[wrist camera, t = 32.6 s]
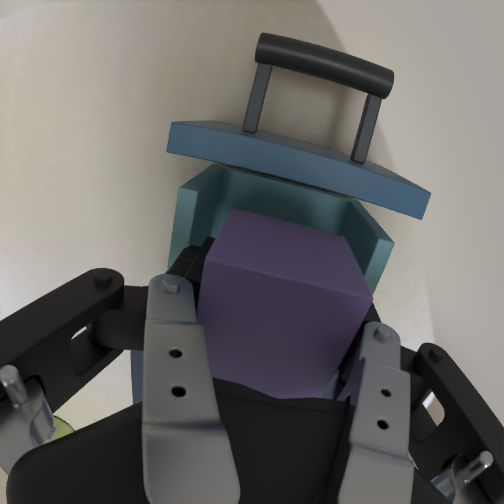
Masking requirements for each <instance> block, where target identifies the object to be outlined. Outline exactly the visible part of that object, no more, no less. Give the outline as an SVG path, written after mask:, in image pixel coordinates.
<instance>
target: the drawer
mask: <svg viewBox="0 0 504 504" xmlns="http://www.w3.org/2000/svg"><path fill="white" fill-rule="evenodd" d="M255 62H256V63H258V67H257V71H256V75H255V79H254V83H253V87H252V91H251V95H250V99H249V103H248V108H247V112H246V116H245V120H244V124H243V127H242V126H237V125H232V124H228V123H223V122H217V121H181V122H172V123H171V128H170V134H169V139H168V145H167V150H166V151H167V152H168V153H173V154H179V155H184V156H189V157H194V158H199V159H204V160H209V161H213V162H218V163H223V164H227V165H232V166H236V167H240V168H245V169H249V170H253V171H257V172H261V173H265V174H269V175H273V176H277V177H281V178H285V179H289V180H293V181H297V182H300V183H304V184H308V185H311V186H315V187H319V188H322V189H326V190H329V191H332V192H336V193H339V194H343V195H346V196H349V197H353V198H356V199H359V200H362V201H366V202H369V203H372V204H375V205H378V206H381V207H384V208H387V209H390V210H393V211H396V212H399V213H402V214H405V215H408V216H411V217H414V218H417V219H420V220H422V218H423V215H424V213H425V210H426V207H427V204H428V201H429V198H430V196H431V193H430V192H428V191H427V190H425V189H423V188H421V187H420V186H418V185H416V184H414V183H412V182H411V181H409V180H407V179H405V178H403V177H401V176H399V175H397V174H396V173H394V172H392V171H390V170H388V169H386V168H384V167H382V166H380V165H377V164H374V163H372V162H369V161H366V156H367V153H368V149H369V146H370V142H371V139H372V135H373V131H374V128H375V124H376V120H377V117H378V113H379V109H380V105H381V101H382V99H386V98H387V96H388V95H389V94H390V92H391V89H392V86H393V82H394V72H393V71H392V70H390V69H387V68H385V67H382V66H379V65H377V64H374V63H371V62H369V61H366V60H363V59H360V58H357V57H355V56H352V55H349V54H346V53H343V52H339V51H336V50H333V49H330V48H326V47H323V46H319V45H316V44H312V43H308V42H304V41H300V40H296V39H292V38H288V37H283V36H279V35H274V34H269V33H264V32H263V33H261V35H260V37H259V40H258V43H257V48H256V53H255ZM272 66H275V67H279V68H284V69H288V70H292V71H296V72H300V73H304V74H307V75H311V76H315V77H318V78H322V79H325V80H329V81H332V82H335V83H338V84H341V85H344V86H348V87H351V88H354V89H356V90H359V91H362V92H365V93H368V95H367V97H366V101H365V105H364V109H363V113H362V117H361V121H360V124H359V128H358V132H357V135H356V139H355V142H354V146H353V150H352V153H351V156H350V155H347V154H344V153H341V152H338V151H334V150H331V149H328V148H324V147H321V146H318V145H314V144H311V143H307V142H303V141H300V140H296V139H292V138H288V137H284V136H281V135H277V134H272V133H268V132H264V131H260V130H257V128H258V124H259V120H260V116H261V112H262V108H263V104H264V99H265V95H266V91H267V87H268V83H269V79H270V76H271V72H272ZM232 208H235V209H239V210H244V211H248V212H252V213H256V214H260V215H264V216H268V217H272V218H276V219H280V220H284V221H288V222H292V223H295V224H299V225H303V226H307V227H311V228H314V229H318V230H322V231H326V232H329V233H333V234H337V235H340V236H344V237H345V238H346V240H347V242H348V244H349V246H350V248H351V251H352V253H353V255H354V257H355V259H356V261H357V263H358V265H359V267H360V269H361V272H362V274H363V276H364V278H365V280H366V282H367V285H368V287H369V289H370V291H371V293H372V295H373V293H374V291H375V289H376V287H377V284H378V282H379V280H380V277H381V275H382V273H383V271H384V268H385V266H386V263H387V261H388V259H389V256H390V254H391V251H392V249H393V246H394V242H393V241H392V239H391V238H390V237H389V236H388V235H387V233H386V232H385V231H384V230H383V229H382V228H381V226H380V225H379V224H378V223H377V222H376V221H375V219H374V218H373V217H372V216H371V215H370V214H369V213H368V211H367V210H366V209H365V208H364V207H363V206H362V205H361V203H360V202H359V201H356V200H353V199H350V198H347V197H343V196H340V195H336V194H333V193H330V192H326V191H323V190H319V189H315V188H312V187H308V186H304V185H301V184H297V183H293V182H289V181H286V180H282V179H278V178H274V177H270V176H266V175H262V174H258V173H254V172H249V171H245V170H241V169H237V168H232V167H228V166H223V165H219V164H213V165H211V166H210V167H208V168H207V169H205V170H204V171H202V172H201V173H199V174H198V175H196V176H195V177H194V178H192V179H191V180H189V181H188V182H186V183H185V184H184V185H182V186H181V187H179V191H178V198H177V204H176V211H175V217H174V224H173V232H172V239H171V247H170V255H169V263H168V270H169V269H170V267H171V266H172V264H173V263H174V261H176V258H177V257H178V256H179V254H180V253H181V251H182V250H183V248H186V247H188V246H190V245H196V246H200V247H201V246H202V245H203V243H204V241H205V240H206V238H207V236H209V237H213V238H216V237H217V235H218V233H219V231H220V229H221V227H222V225H223V224H224V222H225V220H226V218H227V216H228V214H229V212H230V210H231V209H232Z"/></svg>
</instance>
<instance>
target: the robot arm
mask: <svg viewBox="0 0 504 504" xmlns="http://www.w3.org/2000/svg"><path fill="white" fill-rule="evenodd" d="M215 239H216V238H213V237H209V236H207V238H206V240H205V241H204V243H203V245H202V246H201V247H200V246H196V245H190V246H188V247H186V248H183V250H182V251H181V253H180V254H179V256H178V257H177V258H176V261H174V263H173V264H172V266H171V267H170V269H169V270H168V272H167V273H166V274H162V275H158V276H155V277H153V278H152V279H151V280H150V282H149V286H143V287H139V286H126V285H124V278H123V276H122V275H121V274H120V273H119V272H117V271H115V270H112V269H108V268H96V269H92V270H90V271H87V272H86V273H84V274H82V275H80V276H78V277H76V278H74V279H73V280H71V281H69V282H67V283H65V284H64V285H62V286H60V287H58V288H56V289H55V290H53V291H51V292H49V293H47V294H46V295H44V296H42V297H40V298H39V299H37V300H35V301H33V302H32V303H30V304H28V305H27V306H25V307H23V308H21V309H20V310H18V311H16V312H15V313H13V314H11V315H10V316H8V317H6V318H5V319H3V320H1V321H0V466H1V468H2V469H3V470H4V471H5V472H6V473H7V474H8V475H9V476H8V480H7V486H6V496H7V504H504V427H503V426H502V424H501V423H500V421H499V420H498V419H497V417H496V416H495V414H494V413H493V412H492V410H491V409H490V408H489V406H488V405H487V403H486V402H485V401H484V399H483V398H482V397H481V395H480V394H479V393H478V392H477V390H476V389H475V388H474V386H473V385H472V384H471V382H470V381H469V380H468V378H467V377H466V376H465V375H464V373H463V372H462V371H461V370H460V368H459V367H458V366H457V365H456V363H455V362H454V361H453V360H452V358H451V357H450V356H449V355H448V353H447V352H446V351H445V350H443V349H442V348H441V347H439V346H437V345H435V344H432V343H423V344H422V345H421V346H420V348H419V349H418V351H417V352H415V351H413V350H410V349H408V348H405V347H403V346H401V345H400V337H399V335H398V334H397V333H396V331H395V330H393V329H392V328H391V327H389V326H387V325H386V324H383V323H381V320H380V318H379V316H378V313H377V311H376V309H375V306H374V304H373V302H372V303H371V305H370V307H369V309H368V311H367V314H366V316H365V318H364V320H363V322H362V324H361V326H360V328H359V330H358V332H357V333H356V335H355V337H354V339H353V341H352V343H351V345H350V347H349V349H348V351H347V352H346V354H345V356H344V358H343V360H342V362H341V363H340V365H339V367H338V369H337V370H339V374H338V376H337V378H336V379H335V381H334V384H333V387H332V391H331V394H330V397H329V399H324V398H317V397H308V398H288V399H279V398H275V397H272V396H269V395H267V394H264V393H262V392H259V391H257V390H254V389H252V388H250V387H247V386H245V385H243V384H240V383H235V382H231V381H227V380H222V379H218V378H214V377H212V374H211V369H210V363H209V357H208V351H207V345H206V339H205V333H204V327H203V324H202V322H197V316H196V310H197V303H198V297H199V291H200V286H201V280H202V274H203V268H204V263H205V258H206V256H207V254H208V252H209V250H210V248H211V247H212V245H213V243H214V241H215ZM85 326H86V330H84V331H83V332H82V333H80V334H79V335H77V336H76V337H75V338H73V339H72V337H73V336H74V334H75V333H76V332H78V331H79V330H81V329H82V328H83V327H85ZM71 339H72V340H71ZM124 349H125V350H140V351H143V378H142V401H140V402H138V403H135V404H133V405H131V406H129V407H127V408H125V409H123V410H121V411H119V412H117V413H115V414H112V415H110V416H108V417H106V418H104V419H102V420H99V421H97V422H95V423H93V424H90V425H88V426H86V427H84V428H81V429H79V430H77V431H74V432H72V433H70V434H67V435H65V436H63V437H60V438H58V439H55V440H53V441H50V442H48V443H45V444H44V441H45V440H46V439H47V436H48V435H49V433H50V432H51V430H52V428H53V423H54V419H53V413H54V412H55V411H56V410H58V409H59V408H60V407H61V406H62V405H63V404H64V403H66V402H67V401H68V400H69V399H70V398H71V397H72V396H73V395H75V394H76V393H77V392H78V391H79V390H80V389H81V388H83V387H84V386H85V385H86V384H87V383H88V382H89V381H90V380H92V379H93V378H94V377H95V376H96V375H97V374H98V373H100V372H101V371H102V370H103V369H104V368H105V367H106V366H108V365H109V364H110V363H111V362H112V361H113V360H114V359H116V358H117V357H118V356H119V355H120V354H121V353H122V352H123V351H124ZM431 392H433V393H434V395H435V396H436V398H437V399H438V400H439V402H440V403H441V405H442V406H443V408H444V412H445V415H444V419H443V421H442V422H441V423H440V424H439V425H438V426H436V424H435V422H434V421H433V419H432V418H431V416H430V415H429V413H428V411H427V410H426V408H425V407H424V405H423V404H422V403H423V402H424V401H425V399H426V398H427V397H428V396H429V394H430V393H431ZM408 451H409V453H410V455H411V456H412V458H413V460H414V462H415V464H416V466H417V468H418V469H416V467H414V465H413V462H412V461H411V460H410V459H409V458H408Z"/></svg>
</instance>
